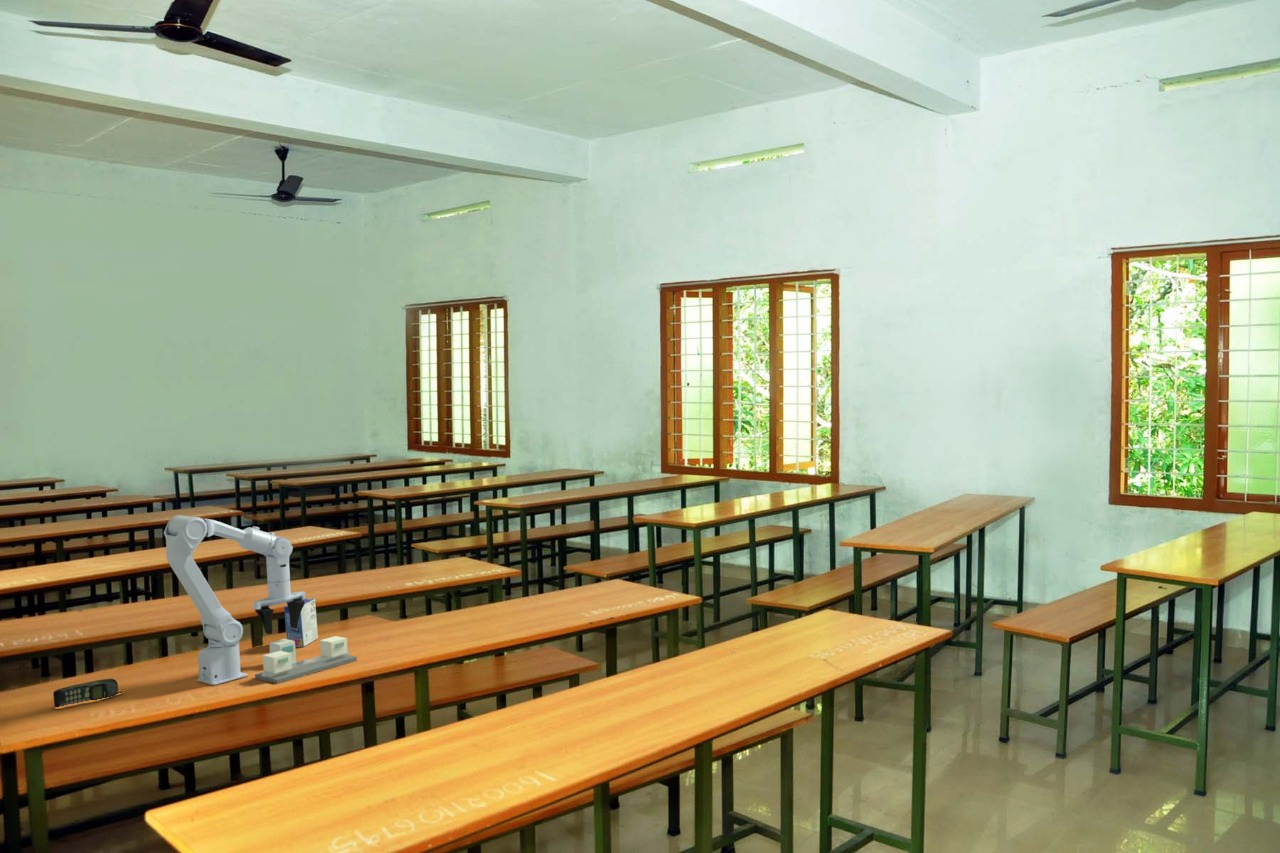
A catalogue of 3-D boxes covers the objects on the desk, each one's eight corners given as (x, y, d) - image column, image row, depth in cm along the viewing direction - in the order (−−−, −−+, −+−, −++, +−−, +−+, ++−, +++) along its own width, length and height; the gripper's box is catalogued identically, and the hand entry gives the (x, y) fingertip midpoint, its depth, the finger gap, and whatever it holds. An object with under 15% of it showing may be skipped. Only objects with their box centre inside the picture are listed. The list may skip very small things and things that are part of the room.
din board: (277, 683, 245) (277, 679, 245) (255, 678, 251) (254, 674, 251) (356, 660, 264) (356, 656, 264) (334, 655, 270) (334, 652, 270)
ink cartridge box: (300, 638, 291) (298, 590, 291) (318, 638, 291) (316, 590, 290) (285, 647, 281) (282, 597, 281) (304, 647, 281) (301, 597, 280)
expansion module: (281, 667, 261) (280, 644, 260) (270, 664, 264) (269, 642, 264) (296, 663, 264) (295, 641, 264) (285, 660, 267) (284, 638, 267)
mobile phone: (53, 691, 230) (124, 676, 239) (51, 689, 232) (121, 673, 242) (55, 712, 230) (125, 696, 240) (53, 709, 233) (122, 693, 242)
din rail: (269, 678, 247) (269, 674, 247) (262, 676, 249) (261, 672, 249) (349, 655, 266) (349, 651, 266) (341, 653, 268) (341, 649, 268)
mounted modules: (275, 673, 247) (274, 658, 247) (263, 670, 250) (262, 655, 250) (348, 653, 264) (347, 638, 264) (336, 650, 268) (335, 636, 268)
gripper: (293, 574, 271) (296, 622, 272) (245, 584, 260) (248, 634, 260) (308, 576, 267) (311, 625, 268) (260, 586, 256) (263, 637, 256)
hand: (281, 630), depth 264 cm, fingers open, 7 cm apart
